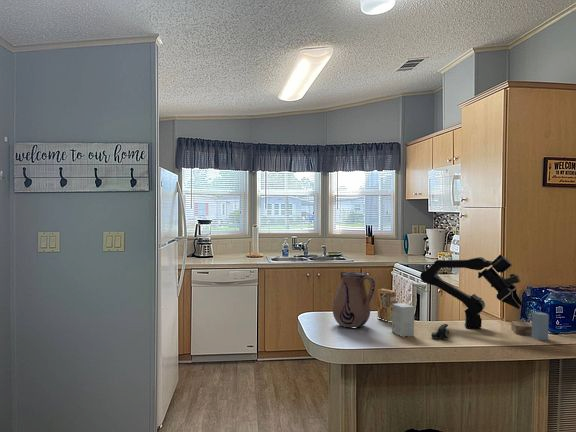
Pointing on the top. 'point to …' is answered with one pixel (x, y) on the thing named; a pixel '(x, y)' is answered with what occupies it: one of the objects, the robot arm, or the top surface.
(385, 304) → the candy box
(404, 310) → the small box
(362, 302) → the ceramic pitcher
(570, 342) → the top surface
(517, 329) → the base block
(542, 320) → the pillar
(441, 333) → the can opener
